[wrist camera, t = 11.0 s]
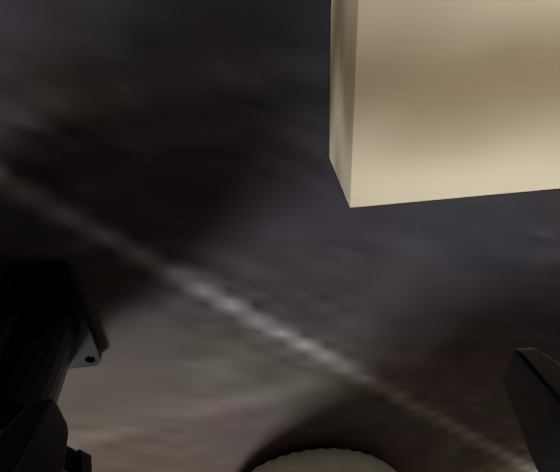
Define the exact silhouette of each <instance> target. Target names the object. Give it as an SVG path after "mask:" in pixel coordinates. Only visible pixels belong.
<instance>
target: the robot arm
mask: <svg viewBox="0 0 560 472" xmlns="http://www.w3.org/2000/svg"><path fill="white" fill-rule="evenodd" d="M54 271H59V272H61V273H62V274H57V273H55V272H54ZM90 356H92V357H90ZM101 357H102V352H101V349H100V346H99V344H98V341H97V338H96V336H95V333H94V330H93V328H92V325H91V322H90V320H89V317H88V314H87V312H86V309H85V306H84V304H83V301H82V298H81V296H80V293H79V290H78V288H77V285H76V282H75V280H74V277H73V274H72V272H71V269H70V267H69V266H68V265H67V264H66V263H64V262H61V261H48V262H38V263H27V264H17V265H10V264H7V265H0V472H92V465H91V455H89V454H87V453H85V452H84V451H82V450H77V451H76V450H74V449H72V448H70V447H68V446H67V439H68V427H67V424H66V421H65V419H64V417H63V415H62V413H61V411H60V409H59V407H58V405H57V401H58V398H59V395H60V392H61V389H62V386H63V383H64V380H65V377H66V374H67V371H68V369H70V368H79V367H89V366H95V365H97V364H99V363H100V361H101ZM504 385H505V388H506V391H507V394H508V396H509V399H510V402H511V404H512V407H513V409H514V412H515V415H516V417H517V420H518V423H519V425H520V428H521V431H522V433H523V436H524V439H525V441H526V444H527V447H528V449H529V452H530V454H531V456H532V459H533V461H534V463H535V465H536V468H537V470H538V472H560V364H559V363H557V362H556V361H555V360H553V359H552V358H550V357H549V356H547V355H546V354H544V353H543V352H542V351H540V350H538V349H536V348H534V347H526V348H517V349H514V350H513V351H512V352H511V355H510V358H509V361H508V364H507V367H506V370H505V373H504Z"/></svg>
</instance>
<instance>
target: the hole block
mask: <svg viewBox="0 0 560 472" xmlns="http://www.w3.org/2000/svg"><path fill="white" fill-rule="evenodd" d="M329 158H330V160H331V163H332V165H333V168H334V170H335V172H336V175H337V177H338V180H339V182H340V185H341V187H342V189H343V192H344V194H345V197H346V199H347V201H348V204H349V206H350V208H351V207H362V206H373V205H383V204H394V203H405V202H416V201H427V200H438V199H448V198H459V197H470V196H481V195H492V194H503V193H514V192H524V191H535V190H546V189H557V188H560V0H331V59H330V149H329Z"/></svg>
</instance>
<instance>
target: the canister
mask: <svg viewBox="0 0 560 472" xmlns="http://www.w3.org/2000/svg"><path fill="white" fill-rule="evenodd" d="M252 472H397V471H395V470H394V469H393V468H392V467H390V466H389V465H388V464H387V463H385V462H384V461H382V460H380V459H377V458H376V457H374V456H372V455H370V454H364V453H363V452H361V451H351V450H349V449H336V448H330V449H323V448H318V449H315V450H308V449H306V450H304V451H302V452H292V453H291V454H288V455H285V456H279V457H278V458H277V459H274V460H269V461H267V462H266V463H265V464H263V465H260V466H257V467H256V468H254V470H253V471H252Z"/></svg>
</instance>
